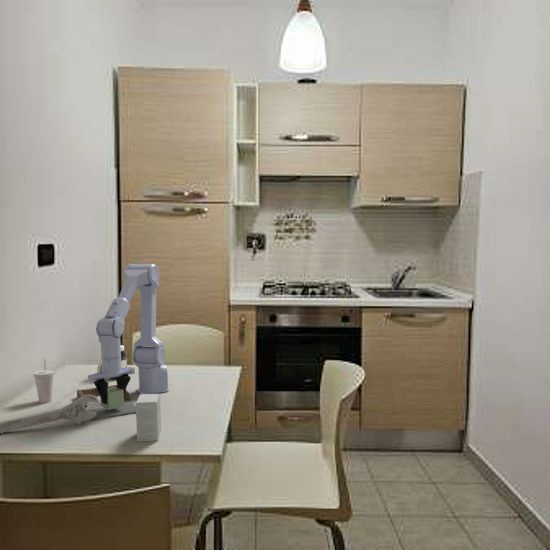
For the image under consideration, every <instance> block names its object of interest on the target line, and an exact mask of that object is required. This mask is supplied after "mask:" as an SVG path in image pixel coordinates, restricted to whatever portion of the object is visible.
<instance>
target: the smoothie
mask: <svg viewBox="0 0 550 550" xmlns="http://www.w3.org/2000/svg"><path fill="white" fill-rule="evenodd" d="M43 367H44V369H43V370H37V371H35V372H33V378H34V381H35V385H36V392H37V396H38V397H37V398H38V403H40V404H47V403H48V404H49V403H50V402H52V401H53V400H52V399H53V398H52V397H53V387H54V376H55V370H53V369H47V359H46V358H43Z"/></svg>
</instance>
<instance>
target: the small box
mask: <svg viewBox="0 0 550 550" xmlns="http://www.w3.org/2000/svg"><path fill="white" fill-rule="evenodd" d="M135 406H136V413H135V420H136V441H137V443H138V442H139V443H140V442H157V441H159V437H160V434H161V432H162V419H161V418H162V414H161V413H162V410H161V394H160V393H154V394H140V393H139V396H138V398H137V399H136V402H135Z"/></svg>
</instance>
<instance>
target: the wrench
mask: <svg viewBox="0 0 550 550" xmlns="http://www.w3.org/2000/svg"><path fill="white" fill-rule="evenodd" d="M89 403H94V404H99V403H100V400H99V398H98V397H97V396H94V395H90V394H88V395H83V396H81V397H80V398H77V399H76V400H74V401H72V402H71V403H70V404H67V405H66V406H63V407H61V408H58V409H54V410H49V411H45V412H40V413H36V414H35V413H34V414H28V415H26V416H25V415H24V416H19V417H16V418H10V419H7V420H6V419H5V420H2V421H0V433H1V434H5V433H8V432H12V431H18V430H22V429H25V428H30V427H34V426H39V425H43V424H47V423H52V422H57V421H60V420H66V421H67V420H68V421H72V422H74V425H77V424H78V425H79V426H81V424H82V422H89V421H90V420H92V418H93V417H95V416H96V414H97V413H95V412H89V411H88V412H87V410H86V407H85V406H86V405H87V406H88V404H89ZM4 432H5V433H4Z"/></svg>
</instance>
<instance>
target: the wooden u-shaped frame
mask: <svg viewBox="0 0 550 550" xmlns="http://www.w3.org/2000/svg"><path fill="white" fill-rule="evenodd" d="M112 387H117V384H114V385H108V388H112ZM88 394H90V395H94V396H95V397H97V396H100V394H99V392H98V390H97V388H96V387H89V388H84V389H77V390H76V397H77V399H78V398H80V397H81V396H83V395H88ZM128 401H130V392H129V391H128V390H127V389H126V391H125V395H124V402H128ZM86 407H88V404H87V405H86V406H85V407H84V408H86Z"/></svg>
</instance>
